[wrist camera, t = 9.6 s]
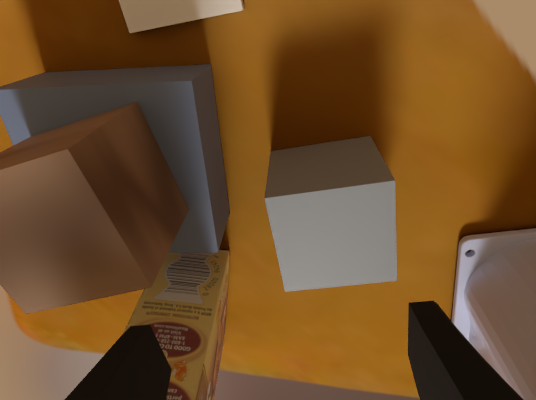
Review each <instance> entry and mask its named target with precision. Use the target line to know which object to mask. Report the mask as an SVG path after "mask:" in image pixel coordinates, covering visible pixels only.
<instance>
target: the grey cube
mask: <svg viewBox="0 0 536 400" xmlns="http://www.w3.org/2000/svg"><path fill="white" fill-rule="evenodd" d="M265 203H266V207H267V212H268V216H269V221H270V225H271V230H272V234H273V239H274V244H275V248H276V253H277V257H278V262H279V266H280V271H281V275H282V280H283V284H284V289H285V292H288V291H298V290H308V289H318V288H328V287H338V286H349V285H359V284H369V283H379V282H389V281H397V254H396V204H395V180H394V178H393V176H392V174H391V172H390V170H389V169H388V167H387V165H386V163H385V161H384V159H383V158H382V156H381V154H380V152H379V150H378V149H377V147H376V145H375V143H374V141H373V139H372V138H371V136H366V137H359V138H353V139H346V140H340V141H333V142H327V143H320V144H314V145H307V146H301V147H295V148H288V149H282V150H275V151H271V154H270V161H269V169H268V176H267V184H266V191H265Z"/></svg>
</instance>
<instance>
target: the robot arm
mask: <svg viewBox="0 0 536 400" xmlns="http://www.w3.org/2000/svg"><path fill="white" fill-rule="evenodd" d="M468 250H471V251H470V252H468V253H466V252H467V251H468ZM408 356H409V360H410V364H411V368H412V372H413V376H414V379H415V383H416V387H417V390H418V394H419V397H420V400H536V228H534V229H524V230H515V231H505V232H496V233H486V234H477V235H468V236H465V237H463V238H462V239H461V240H460V242H459V248H458V258H457V269H456V279H455V290H454V300H453V311H452V321H451V320H450V319H449V318H448V317H447V315H446V314H445V313H444V312H443V310H442V309H441V308H440V307H439V305H438V304H437V303H436V302H434V301H425V302H413V303H409V321H408ZM171 371H172V369H171V367H170V365H169V363H168V361H167V359H166V357H165V355H164V353H163V351H162V348H161V346H160V344H159V342H158V340H157V338H156V336H155V334H154V332H153V330H152V328H151V326H150V324H149V325H137V326H130V327H129V328H128V329H127V330H126V331H125V332H124V334H123V335H122V336H121V337H120V338H119V339H118V340H117V341H116V343H115V344H114V345H113V346H112V347H111V348H110V349H109V350H108V352H107V353H106V354H105V355H104V356H103V357H102V359H101V360H100V361H99V362H98V363H97V364H96V365H95V367H94V368H93V369H92V370H91V371H90V372H89V373H88V374H87V376H86V377H85V378H84V379H83V380H82V381H81V382H80V383H79V384H78V386H77V387H76V388H75V389H74V390H73V391H72V392H71V393H70V395H68V397H67V398H66V399H65V400H166V398H167V393H168V388H169V382H170V377H171Z"/></svg>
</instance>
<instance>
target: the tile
mask: <svg viewBox="0 0 536 400" xmlns="http://www.w3.org/2000/svg"><path fill="white" fill-rule="evenodd" d="M119 3H120V6H121V9H122V12H123V15H124V18H125V21H126V24H127V27H128V30H129V33H134V32H139V31H144V30H149V29H154V28H159V27H164V26H168V25H173V24H178V23H183V22H188V21H193V20H198V19H203V18H208V17H213V16H218V15H223V14H228V13H233V12H237V11H242V10H245V9H244V4H243V0H119Z"/></svg>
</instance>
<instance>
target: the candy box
mask: <svg viewBox="0 0 536 400" xmlns="http://www.w3.org/2000/svg"><path fill="white" fill-rule="evenodd" d="M229 256H230V252H229V251H227V250H219V252H218V253H168V254H167V256H166V258H165V261H164V263H163V265H162V267H161V269H160V271H159V273H158V275H157V277H156V279H155V281H154V283H153V285H152V287H151V288H146V289H144V291H143V293H142V295H141V297H140V299H139V301H138V303H137V306H136V308H135V310H134V312H133V314H132V316H131V318H130V320H129V322H128V325H127V327H126V329H125V331H126V330H127V329H128V328H129V327H130V326H137V325H149V324H150V326H151V328H152V330H153V332H154V334H155V336H156V338H157V340H158V342H159V344H160V346H161V348H162V351H163V353H164V355H165V357H166V359H167V361H168V363H169V365H170V367H171V369H172V371H171V377H170V382H169V388H168V393H167V398H166V400H214V396H215V390H216V384H217V378H218V373H219V367H220V361H221V355H222V350H223V345H224V332H225V321H226V307H227V292H228V274H229ZM125 331H124V332H125ZM123 334H124V333H123Z"/></svg>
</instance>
